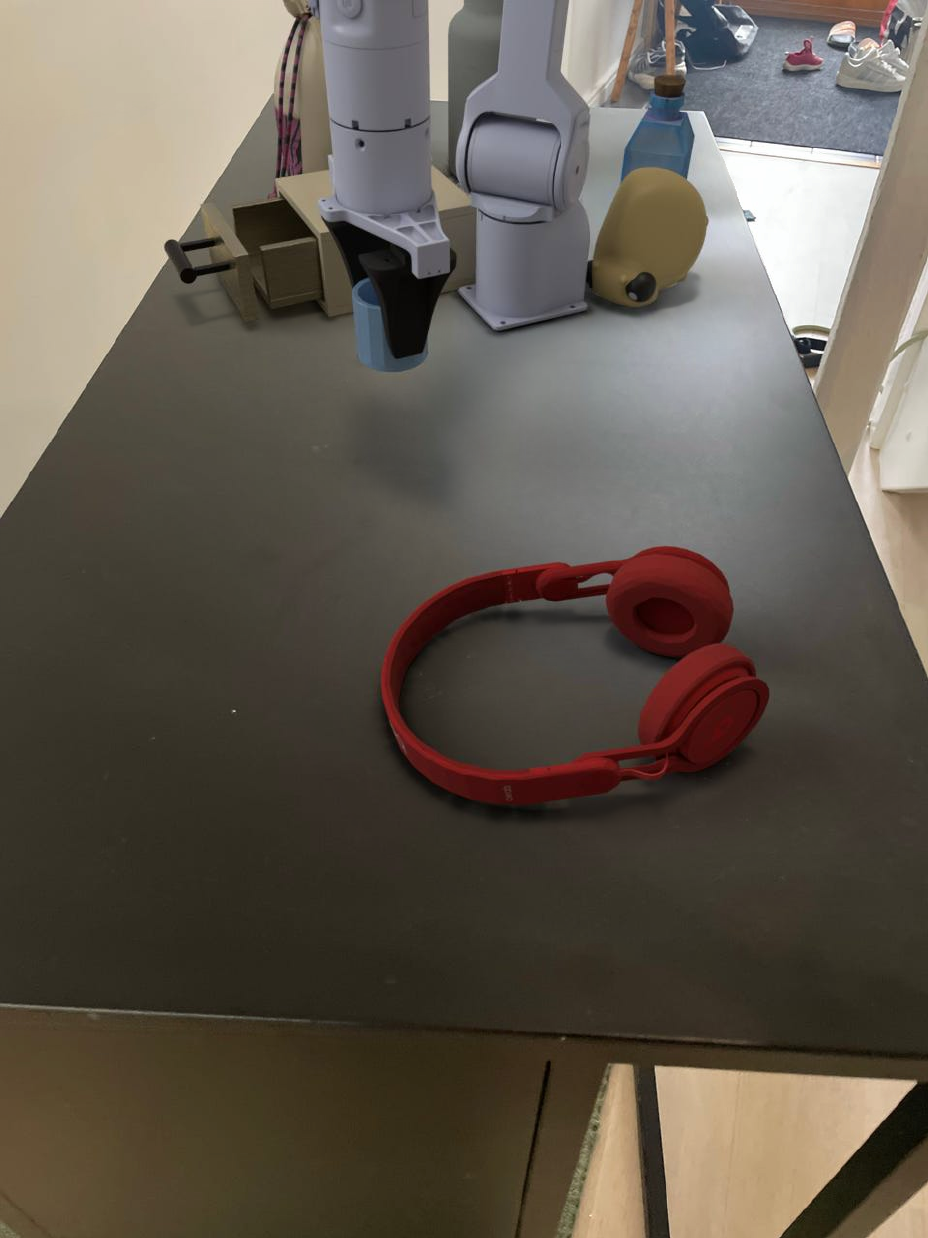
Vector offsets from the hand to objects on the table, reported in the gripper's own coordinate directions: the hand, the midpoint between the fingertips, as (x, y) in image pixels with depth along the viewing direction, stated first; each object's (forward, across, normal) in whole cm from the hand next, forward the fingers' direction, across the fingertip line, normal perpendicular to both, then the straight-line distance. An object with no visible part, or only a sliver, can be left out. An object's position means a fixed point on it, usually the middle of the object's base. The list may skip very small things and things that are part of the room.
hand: (391, 334), depth 61 cm
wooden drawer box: (+9, -27, +9) cm, 30 cm away
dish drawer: (+8, -27, -1) cm, 28 cm away
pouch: (+10, -49, +12) cm, 52 cm away
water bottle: (+10, -45, +30) cm, 55 cm away
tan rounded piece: (+10, -14, +30) cm, 35 cm away
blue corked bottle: (+10, -30, +42) cm, 53 cm away
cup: (+1, 0, 0) cm, 1 cm away
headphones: (+10, +26, -1) cm, 28 cm away
